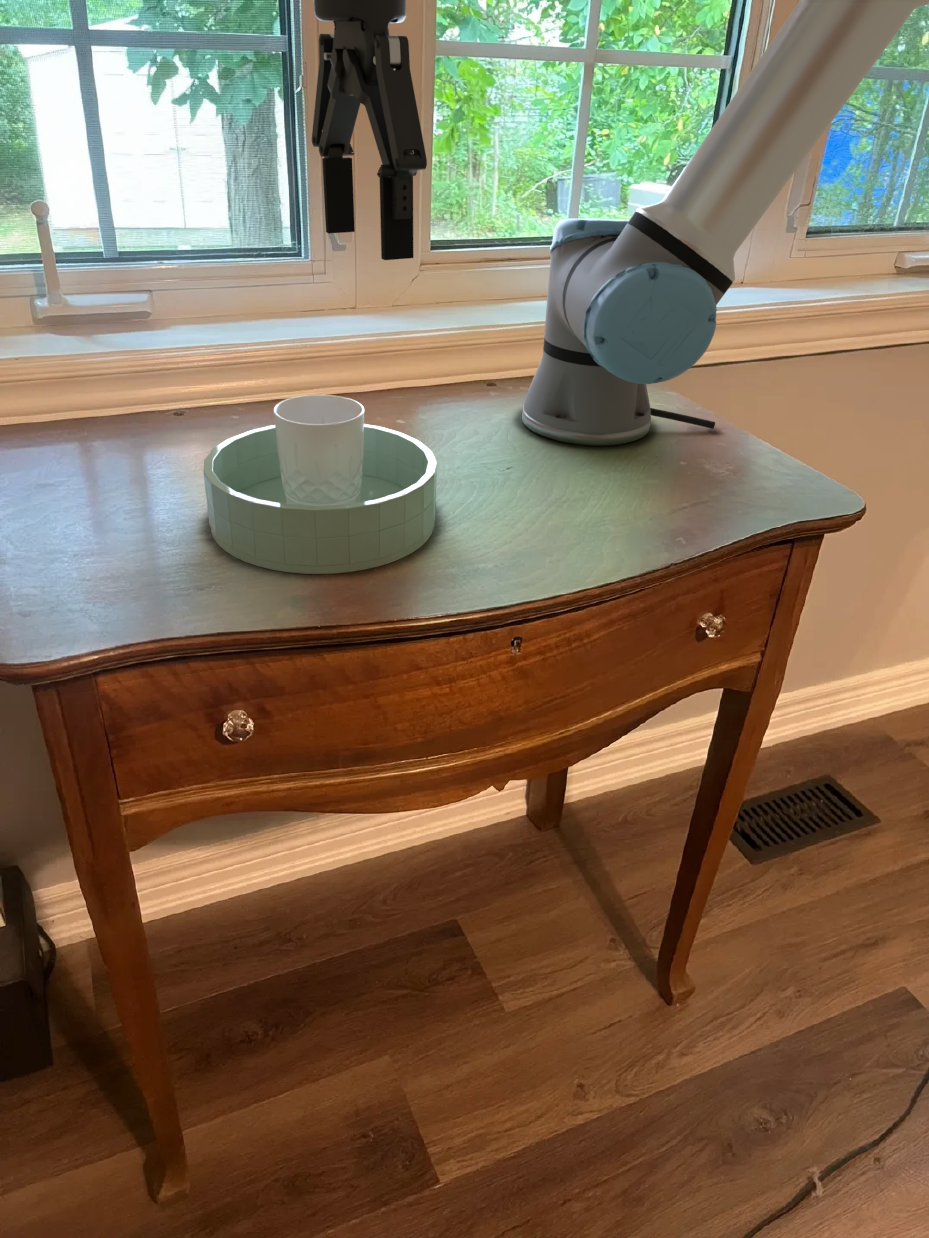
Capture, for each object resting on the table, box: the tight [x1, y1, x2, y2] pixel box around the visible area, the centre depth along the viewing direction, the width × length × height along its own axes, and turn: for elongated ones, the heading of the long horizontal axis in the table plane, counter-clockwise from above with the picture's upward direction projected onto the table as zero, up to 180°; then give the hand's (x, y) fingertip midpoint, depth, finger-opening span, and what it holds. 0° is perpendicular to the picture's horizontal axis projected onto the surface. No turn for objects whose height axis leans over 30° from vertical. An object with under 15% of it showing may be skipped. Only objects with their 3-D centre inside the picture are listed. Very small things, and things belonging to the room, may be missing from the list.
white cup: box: [272, 394, 365, 506], centre depth 85 cm, size 8×8×10 cm
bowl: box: [203, 423, 438, 575], centre depth 86 cm, size 21×21×6 cm
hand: (367, 245), depth 87 cm, fingers open, 13 cm apart
